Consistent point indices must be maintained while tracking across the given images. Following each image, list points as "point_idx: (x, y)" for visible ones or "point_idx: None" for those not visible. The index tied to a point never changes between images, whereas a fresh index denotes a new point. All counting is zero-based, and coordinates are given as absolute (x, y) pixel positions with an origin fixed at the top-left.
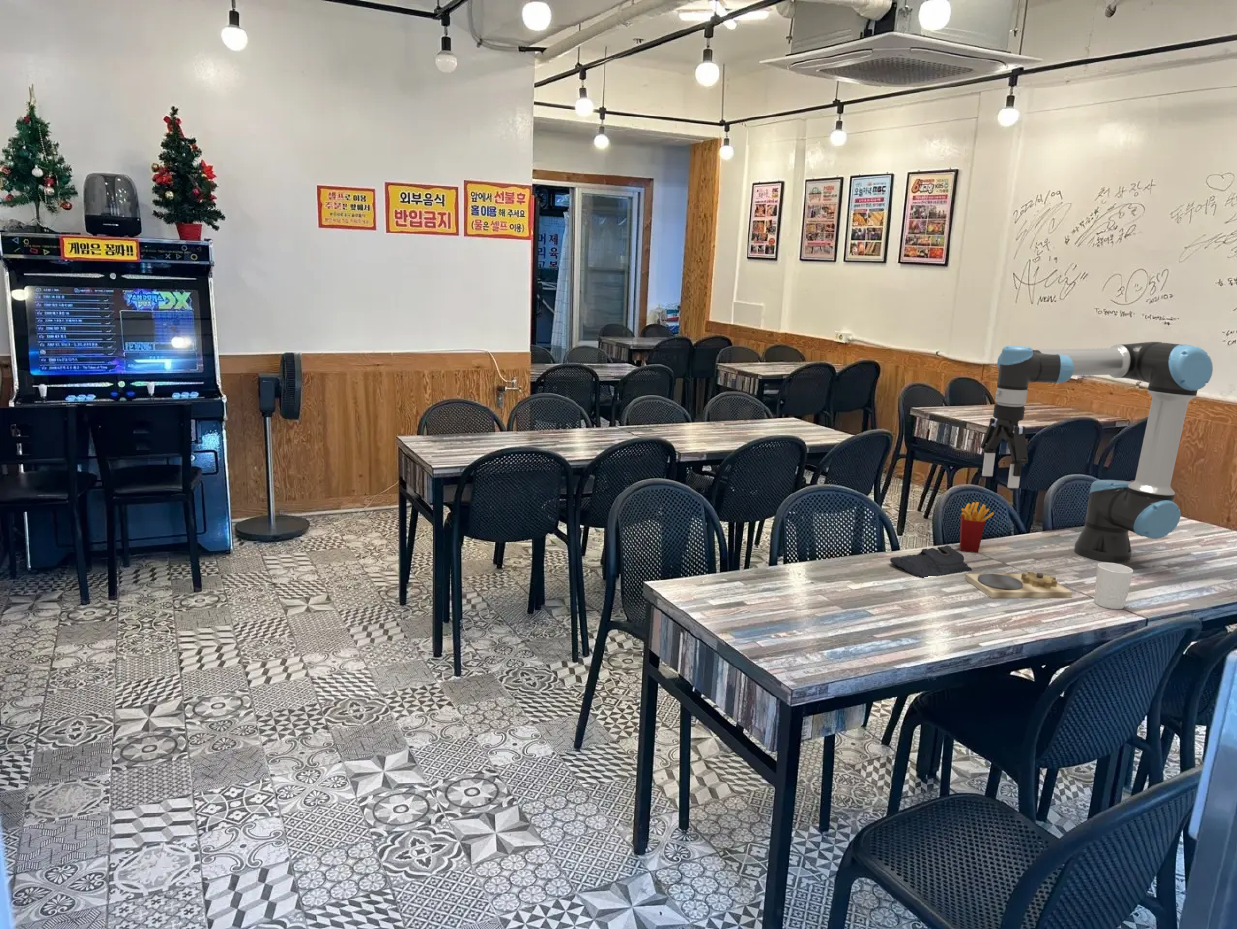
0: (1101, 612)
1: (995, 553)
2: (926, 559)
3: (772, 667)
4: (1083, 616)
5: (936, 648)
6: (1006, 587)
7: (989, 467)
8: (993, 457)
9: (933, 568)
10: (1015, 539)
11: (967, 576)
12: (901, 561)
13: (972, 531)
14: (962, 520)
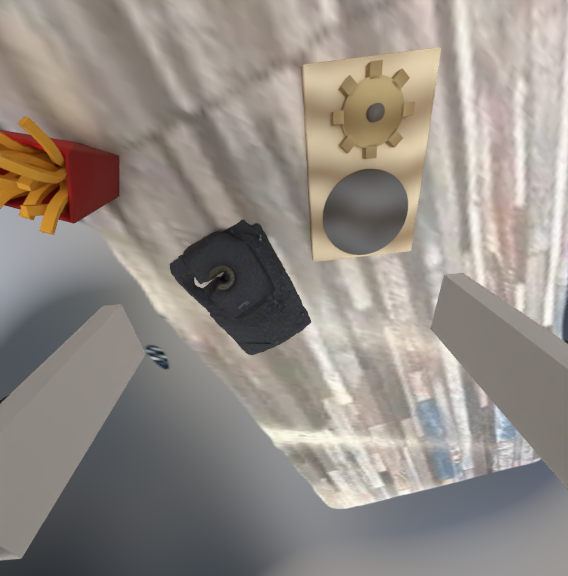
0: (533, 21)
1: (101, 100)
2: (263, 314)
3: (510, 465)
4: (534, 96)
5: None
6: (403, 220)
7: (97, 374)
8: (3, 449)
9: (284, 303)
10: None
11: (321, 260)
12: (269, 347)
13: (90, 184)
14: (74, 222)
